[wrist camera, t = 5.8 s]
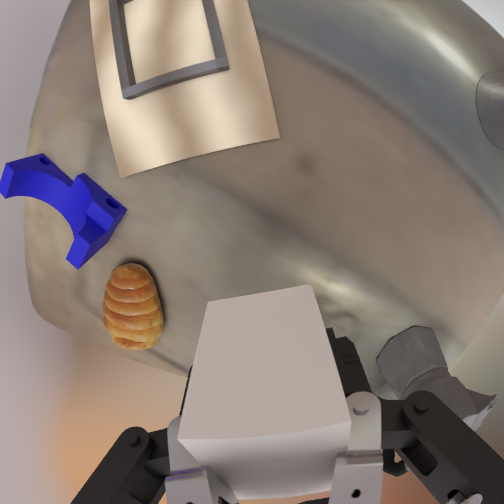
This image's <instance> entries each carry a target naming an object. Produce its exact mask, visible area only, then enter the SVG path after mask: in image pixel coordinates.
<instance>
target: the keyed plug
mask: <svg viewBox="0 0 504 504" xmlns="http://www.w3.org/2000/svg"><path fill="white" fill-rule="evenodd" d="M350 429H351V417H350V413H349V410H348V406H347V402H346V398H345V395H344V391H343V388H342V384H341V380H340V377H339V373H338V370H337V366H336V363H335V360H334V356H333V353H332V349H331V346H330V343H329V339H328V336H327V333H326V330H325V326H324V323H323V320H322V317H321V314H320V311H319V307H318V304H317V301H316V298H315V295H314V292H313V289H312V286H311V284H307V285H302V286H296V287H291V288H286V289H280V290H275V291H269V292H263V293H258V294H252V295H246V296H240V297H234V298H228V299H221V300H215V301H208V303H207V307H206V311H205V315H204V320H203V324H202V328H201V332H200V336H199V341H198V345H197V349H196V353H195V358H194V362H193V367H192V371H191V375H190V380H189V384H188V389H187V394H186V398H185V403H184V408H183V412H182V417H181V422H180V427H179V432H178V437H177V439H178V440H179V442H180V443H181V444H182V445H183V446H184V447H185V448H186V449H187V450H188V451H189V453H190V454H191V455H192V456H193V457H194V458H195V459H196V460H197V461H198V462H199V463H200V464H201V465H202V466H210V467H211V468H212V469H213V470H214V471H215V473H216V476H217V478H218V479H219V480H220V481H221V482H222V483H223V484H224V485H229V486H230V487H231V488H232V489H233V492H234V494H235V495H236V497H237V499H238V500H239V499H265V498H279V497H288V496H297V495H305V494H311V493H317V492H323V491H329V490H331V487H332V481H333V474H334V468H335V461H336V456H337V453H339V452H344V451H347V450H348V444H349V437H350Z"/></svg>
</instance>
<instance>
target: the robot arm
mask: <svg viewBox="0 0 504 504" xmlns="http://www.w3.org/2000/svg"><path fill="white" fill-rule="evenodd" d="M476 102H477V110H478V115H479V119H480V122H481V125H482V127H483V129H484V132H485V133H486V135H487V137H488V138H489V140H490V141H491V142H492V143H493V144H494V145H496V146H497V147H499V148H502V149H504V72H494V73H487V74H485V75H483V76H482V77H481V79H480V81H479V83H478V86H477V92H476ZM325 330H326V333H327V336H328V339H329V343H330V346H331V349H332V353H333V356H334V360H335V363H336V366H337V370H338V373H339V377H340V380H341V384H342V388H343V391H344V395H345V398H346V402H347V406H348V410H349V413H350V417H351V429H350V437H349V444H348V450H347V451H344V452H339V453H337V456H336V461H335V468H334V474H333V481H332V487H331V493H330V497H328V498H323V499H317V500H310V501H305V502H302V503H299V504H380V501H381V490H382V476H383V455H382V454H381V449H394V450H395V451H396V453H397V454H398V455H399V456H400V457H401V458H402V460H403V461H404V462H405V463H406V464H407V466H408V467H409V468H410V469H411V470H412V472H413V473H414V474H415V475H416V476H417V477H418V478H419V480H420V481H421V482H422V483H423V484H424V485H425V487H426V488H427V489H428V490H429V491H430V492H431V494H432V495H433V496H434V497H435V498H436V499H437V501H438V502H439V503H440V504H504V460H503V459H502V458H501V457H500V456H499V455H498V454H497V453H496V452H495V451H494V450H493V449H492V448H491V447H490V446H489V445H488V444H487V443H486V442H485V441H484V440H483V439H482V438H480V436H478V435H477V434H476V433H475V432H474V431H473V430H472V429H471V428H470V427H469V426H468V425H467V424H466V423H465V422H464V421H463V420H462V419H460V418H459V417H458V416H457V415H456V414H455V413H454V412H453V411H452V410H451V409H450V408H449V407H448V406H447V405H445V404H444V403H443V402H442V401H441V400H440V399H439V398H438V397H437V396H436V395H435V394H433V393H432V392H429V391H425V390H420V391H415V392H413V393H411V394H410V395H409V396H408V397H407V398H406V399H405V400H385V399H382V398H380V397H378V396H376V395H375V394H374V393H373V392H372V390H371V388H370V385H369V383H368V380H367V377H366V374H365V372H364V369H363V366H362V364H361V362H360V359H359V356H358V354H357V351H356V348H355V346H354V343H353V342H351V341H350V340H349V339H348V338H347V337H346V336H345V337H341V338H337V339H336V338H335V335H334V332H333V329H332V327H331V328H326V329H325ZM192 367H193V365H192V366H191V368H190V371H189V375H188V380H187V384H186V388H185V393H184V398H183V401H182V406H181V411H180V415H179V416H178V417H176V418H174V419H173V420H172V421H171V422H170V424H169V426H168V427H167V428H165V429H162V430H158V431H154V432H150V433H148V432H147V431H146V430H145V429H143V428H141V427H131V428H128V429H126V430H125V431H124V432H123V433H122V434H121V435H120V436H119V438H118V439H117V441H116V442H115V443H114V445H113V446H112V447H111V449H110V450H109V452H108V453H107V454H106V456H105V457H104V458H103V460H102V461H101V462H100V464H99V465H98V467H97V468H96V469H95V471H94V472H93V473H92V475H91V476H90V478H89V479H88V480H87V482H86V483H85V484H84V486H83V487H82V488H81V490H80V491H79V493H78V494H77V495H76V497H75V498H74V499H73V501H72V502H71V504H158V503H159V501H160V500H161V498H162V496H163V495H164V493H165V491H166V497H167V504H239V502H238V500H237V497H236V495H235V494H234V492H233V489H232V488H231V487H230V486H229V485H224V484H223V483H222V482H221V481H220V480H219V479H218V478H217V476H216V473H215V471H214V470H213V469H212V468H211V467H210V466H202V465H201V464H200V463H199V462H198V461H197V460H196V459H195V458H194V457H193V456H192V455H191V454H190V453H189V451H188V450H187V449H186V448H185V447H184V446H183V445H182V444H181V443H180V442H179V440H178V439H177V437H178V432H179V427H180V422H181V417H182V412H183V408H184V403H185V398H186V394H187V389H188V384H189V380H190V375H191V371H192Z"/></svg>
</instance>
